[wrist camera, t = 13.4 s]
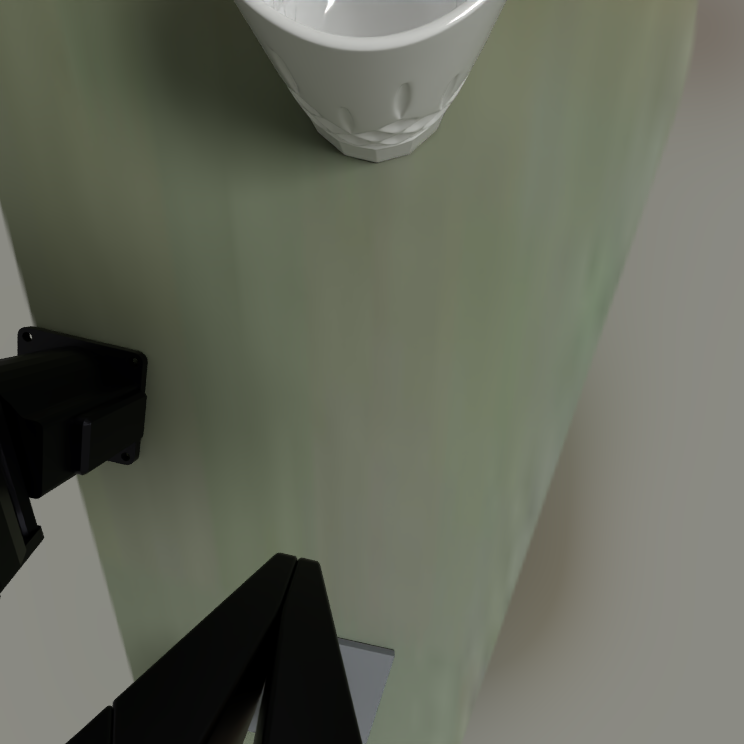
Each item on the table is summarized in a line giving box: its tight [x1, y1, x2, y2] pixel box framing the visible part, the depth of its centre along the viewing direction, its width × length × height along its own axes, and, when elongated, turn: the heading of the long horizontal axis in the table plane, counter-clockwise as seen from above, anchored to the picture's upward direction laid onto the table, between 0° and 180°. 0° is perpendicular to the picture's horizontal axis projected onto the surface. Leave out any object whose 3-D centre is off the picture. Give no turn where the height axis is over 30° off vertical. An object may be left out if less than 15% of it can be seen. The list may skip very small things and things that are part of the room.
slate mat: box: [248, 638, 395, 744], centre depth 25 cm, size 9×9×1 cm
